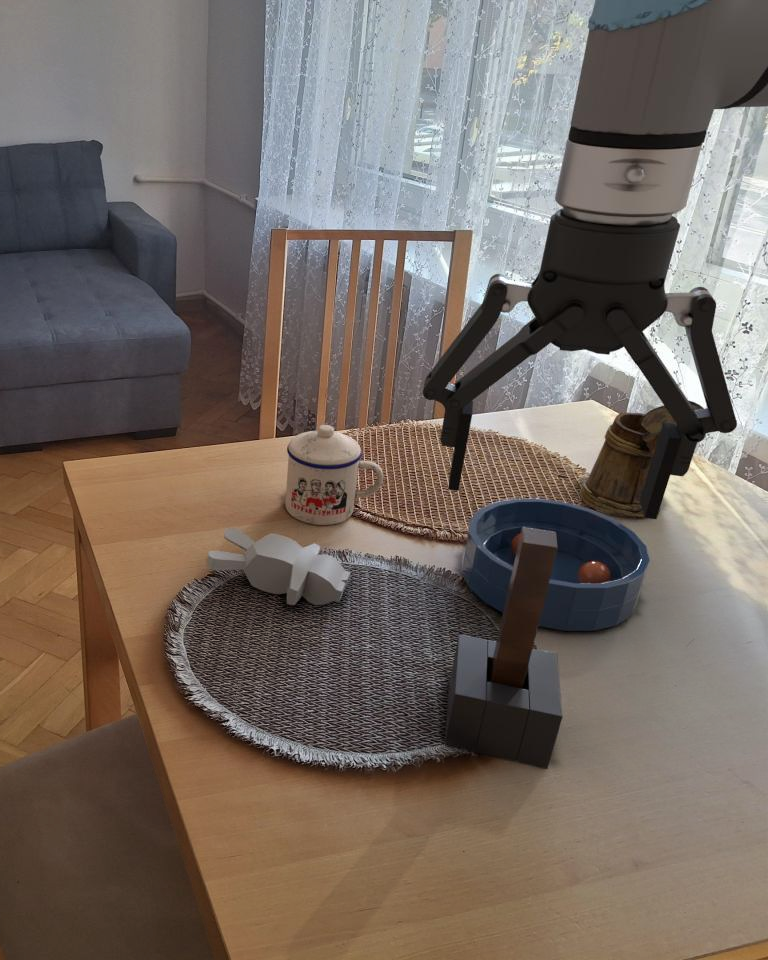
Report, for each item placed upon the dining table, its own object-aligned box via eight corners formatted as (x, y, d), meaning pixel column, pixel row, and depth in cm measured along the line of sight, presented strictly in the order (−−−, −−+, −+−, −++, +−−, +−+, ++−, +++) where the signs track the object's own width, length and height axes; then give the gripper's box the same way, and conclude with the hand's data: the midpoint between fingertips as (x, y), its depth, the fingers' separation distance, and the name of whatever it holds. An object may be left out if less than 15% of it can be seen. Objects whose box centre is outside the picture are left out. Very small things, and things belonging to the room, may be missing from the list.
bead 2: (605, 582, 94) (612, 558, 93) (608, 599, 92) (616, 574, 90) (573, 577, 95) (580, 553, 94) (575, 593, 93) (582, 569, 91)
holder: (543, 703, 79) (557, 653, 76) (547, 769, 73) (562, 716, 70) (449, 683, 82) (458, 634, 79) (444, 745, 75) (454, 693, 72)
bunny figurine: (338, 594, 88) (203, 548, 93) (328, 631, 91) (198, 585, 96) (359, 547, 96) (233, 507, 101) (349, 583, 98) (227, 542, 103)
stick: (510, 717, 78) (556, 531, 68) (510, 736, 76) (557, 548, 66) (480, 711, 79) (522, 526, 69) (480, 730, 77) (522, 542, 67)
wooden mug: (605, 537, 103) (644, 400, 94) (570, 482, 115) (602, 355, 106) (685, 541, 102) (732, 402, 93) (642, 485, 113) (680, 357, 105)
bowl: (624, 556, 99) (637, 511, 97) (645, 650, 85) (661, 602, 82) (463, 531, 105) (471, 488, 102) (457, 616, 91) (466, 569, 88)
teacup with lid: (280, 523, 108) (285, 440, 102) (285, 488, 116) (291, 409, 110) (379, 533, 105) (390, 448, 100) (377, 496, 113) (388, 416, 108)
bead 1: (537, 553, 100) (543, 529, 98) (538, 567, 97) (544, 544, 95) (508, 548, 101) (513, 525, 99) (508, 563, 98) (513, 539, 96)
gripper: (410, 214, 57) (374, 493, 67) (870, 235, 48) (749, 549, 59) (419, 193, 63) (385, 451, 73) (828, 208, 55) (725, 497, 65)
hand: (547, 496), depth 66 cm, fingers open, 13 cm apart
